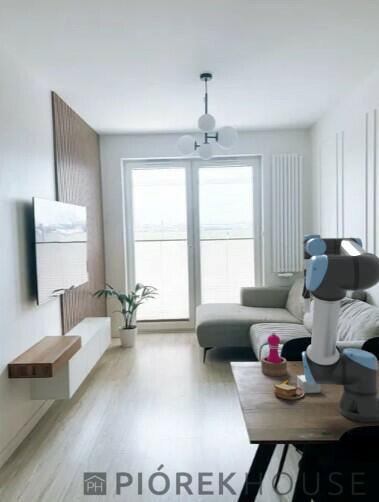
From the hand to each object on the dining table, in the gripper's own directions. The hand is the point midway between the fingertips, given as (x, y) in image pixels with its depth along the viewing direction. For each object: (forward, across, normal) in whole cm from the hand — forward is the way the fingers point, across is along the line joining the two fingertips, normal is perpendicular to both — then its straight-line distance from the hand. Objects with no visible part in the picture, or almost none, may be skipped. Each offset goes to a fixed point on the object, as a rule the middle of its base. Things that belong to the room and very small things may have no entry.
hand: (312, 315), depth 169 cm
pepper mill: (+31, +16, +14) cm, 37 cm away
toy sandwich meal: (+32, -11, +15) cm, 37 cm away
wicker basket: (+31, +16, +14) cm, 37 cm away
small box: (+32, -6, +5) cm, 33 cm away
